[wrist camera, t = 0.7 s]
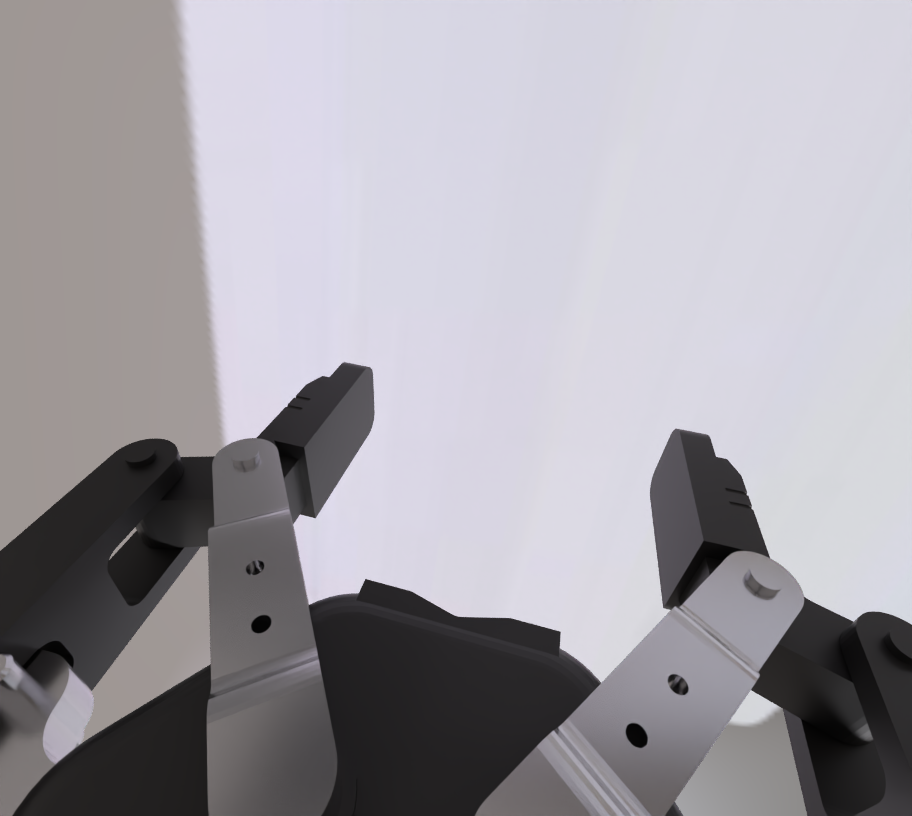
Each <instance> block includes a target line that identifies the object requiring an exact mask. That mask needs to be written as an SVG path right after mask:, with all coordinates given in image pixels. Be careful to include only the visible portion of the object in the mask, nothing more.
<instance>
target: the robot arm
mask: <svg viewBox="0 0 912 816" xmlns="http://www.w3.org/2000/svg"><path fill="white" fill-rule="evenodd" d="M373 421H374V389H373V372H372V369H371V368H370V367H366V366H361V365H356V364H351V363H345V362H344V363H342V364H341V365H340V366H339V367H338V368H337V370H336V371H335V372H334V373H333V374H332V375H331V376H330V377H325V376H322V377H320V378H318V379H316V380H314V381H312V382H310V383H308V384H307V385H306V386H305V387H304V388H303V389H302V390H301V391H300V392H299V393H298V394H297V395H296V398H294V399H293V400H292V401H291V402H290V403H289V404H288V407H285V408H284V409H283V410H282V411H281V412H280V414H279V415H278V416H277V417H276V418H275V419H274V420H273V421H272V422H271V423H270V424H269V425H268V426H267V427H266V429H265V430H264V431H263V432H262V433H261V434H260V435H259V436H258V437H257V438H249V439H243V440H239V441H236V442H233V443H231V444H229V445H227V446H225V447H224V448H222V449H221V450H220V451H219V452H218V453H217V454H216V456H214V457H180V455H179V452H178V450H177V447H176V446H175V444H173V443H172V442H170V441H168V440H164V439H145V440H140V441H137V442H134V443H131V444H129V445H127V446H125V447H123V448H121V449H119V450H118V451H116V452H115V453H114V454H113V455H111V456H110V457H109V458H108V459H107V460H106V461H105V462H103V463H102V464H101V465H100V466H99V467H98V468H96V469H95V470H94V471H93V472H92V473H91V474H89V475H88V476H87V477H86V478H85V479H83V480H82V481H81V482H80V483H79V484H78V485H76V486H75V487H74V488H73V489H72V490H71V491H70V492H68V493H67V494H66V495H65V496H64V497H63V498H61V499H60V500H59V501H58V502H57V503H56V504H54V505H53V506H52V507H51V508H50V509H49V510H47V511H46V512H45V513H44V514H43V515H42V516H40V517H39V518H38V519H37V520H36V521H35V522H33V523H32V524H31V525H30V526H29V527H28V528H27V529H25V530H24V531H23V532H22V533H21V534H20V535H19V536H17V537H16V538H15V539H14V540H13V541H11V542H10V543H9V544H8V545H7V546H6V547H4V548H3V549H2V550H1V551H0V816H683V815H682V813H681V811H680V810H679V808H678V806H677V805H676V803H675V800H676V799H677V797H678V796H679V794H680V793H681V791H682V790H683V788H684V787H685V785H686V784H687V782H688V781H689V780H690V778H691V777H692V775H693V774H694V772H695V771H696V769H697V768H698V766H699V765H700V763H701V762H702V761H703V759H704V757H705V756H706V755H707V753H708V752H709V750H710V749H711V747H712V746H713V744H714V743H715V741H716V740H717V739H718V737H719V736H720V734H721V733H722V731H723V730H724V728H725V727H726V725H727V724H728V722H729V721H730V720H731V718H732V717H733V715H734V714H735V712H736V711H737V709H738V708H739V706H740V705H741V703H742V702H743V700H744V699H745V698H746V696H747V695H748V693H749V692H750V690H752V691H754V692H755V693H757V694H759V695H761V696H762V697H764V698H766V699H768V700H769V701H771V702H773V703H774V704H776V705H778V706H780V707H781V708H783V711H784V715H785V719H786V724H787V729H788V733H789V737H790V741H791V746H792V750H793V755H794V759H795V763H796V768H797V772H798V776H799V781H800V785H801V790H802V794H803V798H804V803H805V807H806V811H807V816H912V625H911V624H910V623H908V622H906V621H904V620H902V619H900V618H898V617H895V616H893V615H890V614H886V613H882V612H867V613H864V614H862V615H861V616H860V617H858V618H857V619H856V620H855V621H854V622H853V621H851V620H849V619H847V618H845V617H842V616H840V615H838V614H836V613H834V612H832V611H830V610H828V609H826V608H824V607H822V606H820V605H818V604H816V603H814V602H812V601H810V600H808V599H807V598H805V597H804V595H803V592H802V589H801V587H800V585H799V583H798V582H797V581H796V579H795V578H794V577H793V576H792V575H791V574H790V572H788V571H787V570H786V569H785V568H784V567H783V566H781V565H780V564H779V563H777V562H775V561H774V560H772V559H770V557H769V554H768V551H767V548H766V545H765V542H764V539H763V537H762V534H761V531H760V528H759V525H758V522H757V519H756V517H755V514H754V511H753V510H752V509H751V507H752V505H751V502H750V499H749V496H747V491H746V488H745V485H744V482H743V479H742V476H741V475H740V474H739V473H738V471H737V470H736V469H735V468H734V467H733V466H732V464H731V463H730V462H729V461H728V460H727V459H723V458H718V457H716V456H715V453H714V449H713V446H712V443H711V439H710V437H709V436H708V435H706V434H701V433H696V432H691V431H686V430H681V429H675V430H674V431H673V432H672V434H671V436H670V438H669V440H668V442H667V445H666V447H665V449H664V451H663V454H662V456H661V458H660V460H659V463H658V465H657V467H656V469H655V472H654V474H653V477H652V482H651V488H650V500H651V508H652V517H653V525H654V534H655V542H656V550H657V559H658V567H659V576H660V584H661V593H662V601H663V608H666V609H670V610H671V611H670V612H669V613H668V614H667V615H666V616H665V617H664V618H663V619H662V620H661V621H660V622H659V623H658V624H657V625H656V626H655V628H654V629H653V630H652V631H651V632H650V633H649V634H648V635H647V636H646V637H645V638H644V639H643V640H642V641H641V642H640V643H639V644H638V645H637V646H636V647H635V648H634V649H633V651H632V652H631V653H630V654H629V655H628V656H627V657H626V658H625V659H624V660H623V661H622V662H621V663H620V664H619V665H618V666H617V667H616V668H615V669H614V670H613V671H612V673H611V674H610V675H609V676H608V677H607V678H606V679H605V680H604V681H603V682H602V683H601V682H600V681H599V680H598V679H597V678H596V677H595V676H594V675H593V674H592V672H591V671H590V670H588V669H587V668H586V667H585V666H584V665H583V664H582V663H581V662H579V661H578V660H577V659H575V658H574V657H572V656H571V655H570V654H568V653H567V652H565V651H563V650H562V649H560V633H561V632H559V631H556V630H552V629H548V628H545V627H541V626H537V625H534V624H530V623H526V622H522V621H519V620H515V619H511V618H475V617H457V616H454V615H452V614H450V613H448V612H447V611H445V610H443V609H441V608H440V607H438V606H436V605H434V604H433V603H431V602H429V601H427V600H425V599H424V598H422V597H420V596H418V595H417V594H415V593H413V592H411V591H408V590H404V589H400V588H397V587H393V586H389V585H385V584H382V583H378V582H374V581H371V580H367V579H365V581H364V584H363V586H362V588H361V590H360V592H359V594H343V595H337V596H333V597H329V598H326V599H323V600H320V601H317V602H315V603H313V604H310V605H309V602H308V597H307V592H306V587H305V582H304V577H303V572H302V567H301V562H300V557H299V552H298V547H297V542H296V537H295V532H294V527H293V524H294V522H295V521H296V519H297V518H298V516H299V515H300V514H301V515H305V516H309V517H313V518H316V517H317V515H318V513H319V512H320V510H321V509H322V507H323V505H324V504H325V502H326V501H327V499H328V498H329V496H330V494H331V493H332V491H333V490H334V488H335V487H336V485H337V483H338V482H339V480H340V479H341V477H342V476H343V474H344V472H345V471H346V469H347V468H348V466H349V465H350V463H351V461H352V460H353V458H354V457H355V455H356V454H357V452H358V450H359V449H360V447H361V446H362V444H363V442H364V441H365V439H366V438H367V436H368V435H369V433H370V431H371V428H372V425H373ZM135 527H136V529H137V531H136V532H135V533H134V534H133V535H132V536H131V537H130V539H129V540H128V541H127V542H126V543H125V544H124V545H123V546H122V547H121V548H120V549H119V550H118V552H117V553H116V554H115V555H114V556H113V557H112V558H111V559H110V560H109V558H110V556H111V554H112V553H113V551H114V550H115V548H116V547H117V546H118V545H119V544H120V543H121V542H122V541H123V540H124V539H125V538H126V536H127V535H128V534H129V533H130V532H131V531H132V530H133V529H134V528H135ZM203 546H208V562H209V604H210V605H209V606H210V607H209V608H210V651H211V664H210V665H209V666H207V667H205V668H204V669H202V670H200V671H199V672H197V673H195V674H194V675H192V676H191V677H189V678H187V679H186V680H184V681H182V682H181V683H179V684H178V685H176V686H174V687H172V688H171V689H169V690H167V691H166V692H164V693H163V694H161V695H160V696H158V697H156V698H154V699H153V700H151V701H149V702H148V703H147V704H144V705H143V706H141V707H140V708H138V709H136V710H135V711H133V712H132V713H130V714H128V715H127V716H125V717H123V718H121V719H120V720H118V721H117V722H115V723H113V724H112V725H110V726H108V727H107V728H105V729H104V730H102V731H100V732H99V733H97V734H95V735H94V736H92V737H91V738H89V739H88V740H86V741H84V742H83V743H82V744H81V742H82V740H83V737H84V729H85V727H86V725H87V723H88V722H89V719H90V717H91V714H92V711H93V704H94V699H93V694H92V692H91V691H92V690H93V689H94V687H95V686H96V684H97V683H98V682H99V681H100V679H101V678H102V677H103V675H104V674H105V673H106V671H107V670H108V669H109V667H110V666H111V665H112V663H113V662H114V660H115V659H116V658H117V657H118V655H119V654H120V653H121V651H122V650H123V649H124V648H125V646H126V645H127V644H128V642H129V641H130V640H131V638H132V637H133V636H134V634H135V633H136V632H137V630H138V629H139V628H140V626H141V625H142V624H143V622H144V621H145V620H146V618H147V617H148V616H149V615H150V613H151V612H152V611H153V609H154V608H155V607H156V605H157V604H158V603H159V601H160V600H161V599H162V597H163V596H164V595H165V593H166V592H167V591H168V589H169V588H170V587H171V585H172V584H173V583H174V581H175V580H176V579H177V577H178V576H179V575H180V573H181V572H182V571H183V569H184V568H185V567H186V566H187V564H188V563H189V562H190V560H191V559H192V558H193V556H194V555H195V554H196V552H197V551H198V550H199V548H200V547H203Z"/></svg>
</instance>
